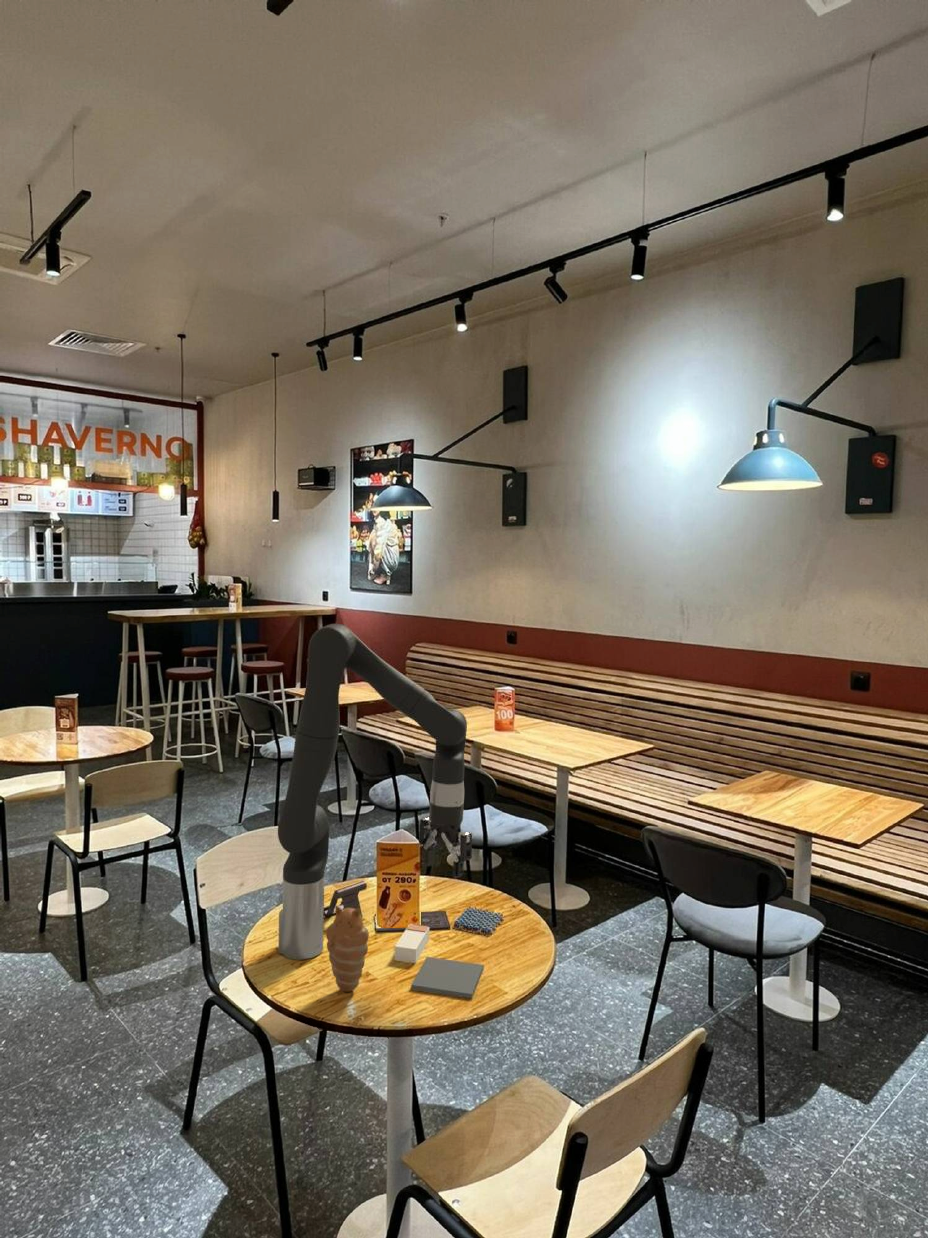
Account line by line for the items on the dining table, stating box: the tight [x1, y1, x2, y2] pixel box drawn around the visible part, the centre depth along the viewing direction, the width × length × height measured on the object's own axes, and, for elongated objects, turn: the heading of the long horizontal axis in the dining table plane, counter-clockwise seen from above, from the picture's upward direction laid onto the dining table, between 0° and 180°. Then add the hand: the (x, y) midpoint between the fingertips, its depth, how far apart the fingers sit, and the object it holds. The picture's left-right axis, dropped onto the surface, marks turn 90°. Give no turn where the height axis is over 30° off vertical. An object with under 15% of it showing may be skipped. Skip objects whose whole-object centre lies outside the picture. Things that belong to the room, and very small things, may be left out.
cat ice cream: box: [325, 905, 370, 993], centre depth 158 cm, size 9×8×18 cm
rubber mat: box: [410, 956, 485, 999], centre depth 164 cm, size 13×12×1 cm
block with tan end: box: [394, 924, 430, 964], centre depth 176 cm, size 11×5×4 cm, turn 167°
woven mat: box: [452, 906, 505, 937], centre depth 190 cm, size 10×11×2 cm
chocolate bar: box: [374, 910, 451, 934], centre depth 190 cm, size 9×1×18 cm
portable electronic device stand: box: [324, 880, 368, 918], centre depth 193 cm, size 9×8×8 cm
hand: (443, 871), depth 171 cm, fingers open, 8 cm apart
